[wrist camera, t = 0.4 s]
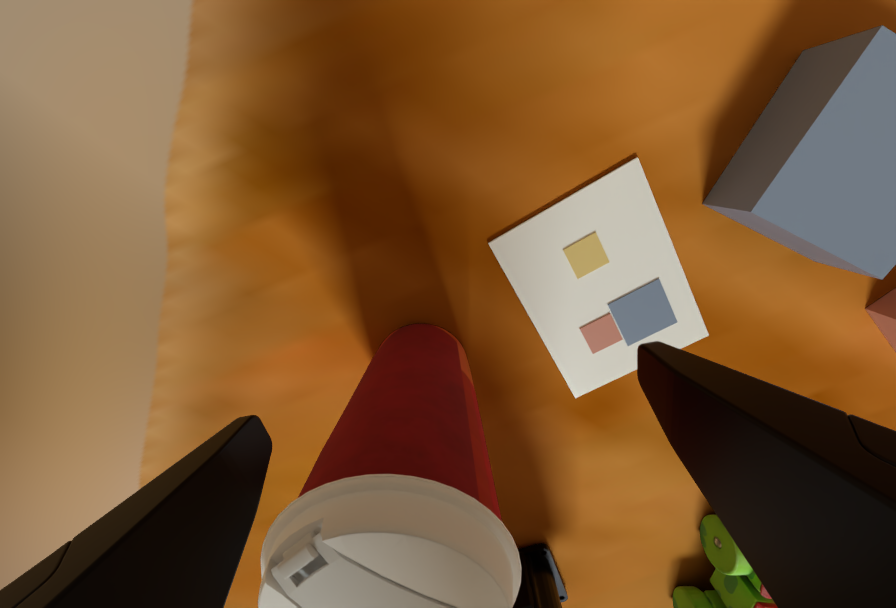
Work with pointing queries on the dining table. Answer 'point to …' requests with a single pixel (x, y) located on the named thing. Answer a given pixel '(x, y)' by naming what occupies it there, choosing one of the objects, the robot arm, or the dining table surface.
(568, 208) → the page
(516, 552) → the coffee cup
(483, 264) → the dining table surface
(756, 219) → the base brick
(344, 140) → the dining table surface
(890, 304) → the brick column
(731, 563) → the green bumpy elongated piece
